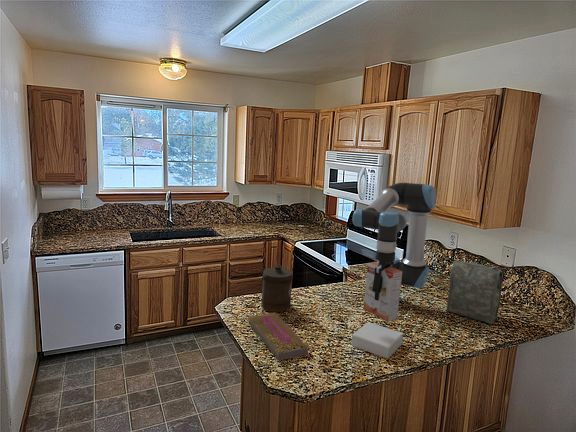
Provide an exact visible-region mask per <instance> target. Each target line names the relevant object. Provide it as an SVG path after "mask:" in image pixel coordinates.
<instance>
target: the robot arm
mask: <svg viewBox="0 0 576 432" xmlns="http://www.w3.org/2000/svg"><path fill="white" fill-rule="evenodd" d="M436 203H437V194H436V189H435V187H434V186H433V185H431V184H425V183H414V182H413V183H412V182H398V183H394V184H391V185H388V186H387V187H386V188H384V189H383V190H382V191H381V192H380V193H379V196H378V197H377V198H376V199H375V200H374V201H373V202H371V203H370V204H369V205H368V206H367V207H366V208H364V209H355V210H354V212H353V214H352V224H353V225H354V226H355V227H359V228H364V229H371V230H377V239H376V247H375V248H376V250H375V259H376V262H379V264H378V268H377V267H375V275H374V281H373V288H372V291H373V292H375V293H374V304H373V306H374V307H377V308H380V305H381V295H382V292H381V288H382V282H383V277H382V276H381V275H382V271H383V270H384V269H385V268H386V269H387V268H388V267H393V268H395V269H398V270H401V271H402V280H401V286H407V287H411V288H413V289H414V288H417V289H422V288H424V286H425V284H426V282H427V280H428V275H429V271H430V267H428V266H427V262H426V261H425V260H424V254H425V245H426V235H427V224H428V215H429V214H431V213H432V210H434V209H435V208H436ZM395 206H405V207H406V211H407V212H408V213H409V219H408V222H407V218H406V216H405V215H403V214H402V213H396V212H394V211H393V212H392V211H389V209H391V208H392V207H395ZM407 223H408V229H407V240H406V241H407V243H406V251H405V254H406V255H405V258H403V259H402V261H400V258H399V257H397V256H396V248H397V246H398V244H397V238H398V233H399V232H401V231H403V230H404V229H405V228H406V227H407Z"/></svg>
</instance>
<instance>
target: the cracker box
mask: <svg viewBox="0 0 576 432" xmlns="http://www.w3.org/2000/svg"><path fill="white" fill-rule="evenodd" d="M378 264H379V262H377V261H373V262H367V267H366V268H367V269H366V279H365V290H364V299H363V310H364V311H366V312H368V313H370V314H372V315H374V316H376V317H377V318H378V319H381V320H383V321H385V322H387V323H389V322H393V321H396V320H398V314H399V306H400V297H401V296H400V295H401V290H402V289H401V287H402V284H401V280H402V271H401V270H398V269H395V268H393V267H388V268H387V269H386V268H385V269H384V270H383V271H382V275H381V276H382V277H383V282H382V288H381V292H382V295H381V305H380V308H377V307H374V306H373V304H374V293H375V292H373V291H372V288H373V281H374V275H375V267H377V268H378Z"/></svg>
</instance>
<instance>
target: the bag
mask: <svg viewBox="0 0 576 432" xmlns="http://www.w3.org/2000/svg"><path fill="white" fill-rule="evenodd" d="M503 276H504V272H503V270H502V269H499V268H497V266H488V265H484V264H480V263H478V262H468V261H465V260H464V261H459V260H457V259H456V260H454V261H453V263H452V267H451V272H450V278H449V285H448V286H449V287H448V298H447V303H446V304H447V305H446V310H445V311H446V312H450V313H453V314H457V315H459V316H463V317H467V318H469V319H473V320H477V321H480V322H484V323H487V324H488V325H492V324H493V323H494V321H495V320H496V319H497V318H498V315H499V308H500V304H501V297H502V290H503V289H502V287H503Z"/></svg>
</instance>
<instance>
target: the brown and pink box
mask: <svg viewBox="0 0 576 432" xmlns="http://www.w3.org/2000/svg"><path fill="white" fill-rule="evenodd" d="M277 313H278V312H270V313H264V314H262V313H261V314H257V315H249V316H247V319H248V324H249V325H250V327H251V329H253V330H254V332H255V334H257V335H258V337H259V338H260V340H261V341H262V342H263V343H264V344H265V346H266V347H267V348H268V349H269V350H270V352H271V353H272V354H273V355H274V357H275V358H276V360H277V361H284V360H288V359H292V358H296V357H301V356H307V355H309V354H308V353H309V349H311V346H309V345H308V343H306V342H305V340H303V339H302V338H301V337H300V335H298V333H297V332H296V331H295V330H294V329H293V328H291V327H290V325H289V324H287V323H286V322H285V320H283V318H281V317H280V315H279V314H277ZM293 348H295V349H293ZM288 350H289V351H288Z"/></svg>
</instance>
